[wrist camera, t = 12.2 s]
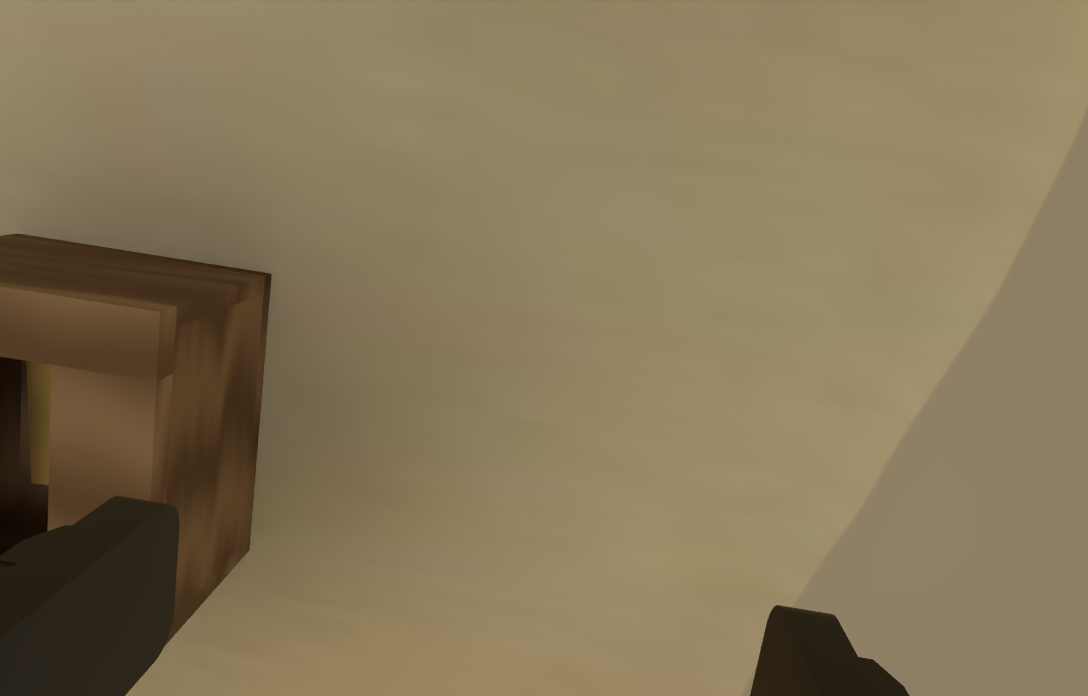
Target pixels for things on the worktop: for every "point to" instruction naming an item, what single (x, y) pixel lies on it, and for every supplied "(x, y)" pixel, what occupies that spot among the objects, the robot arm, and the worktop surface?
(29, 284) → the box
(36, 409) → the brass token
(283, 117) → the worktop surface
